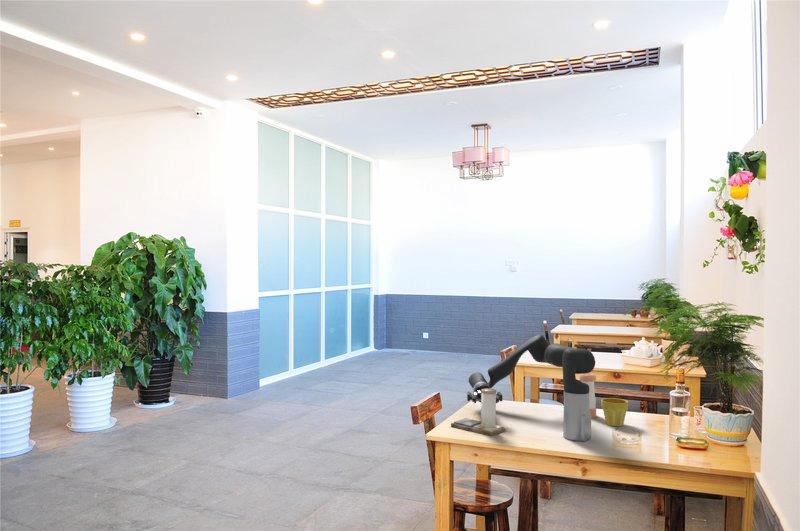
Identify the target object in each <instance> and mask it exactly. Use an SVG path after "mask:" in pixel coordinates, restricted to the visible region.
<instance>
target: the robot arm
mask: <svg viewBox="0 0 800 531" xmlns="http://www.w3.org/2000/svg"><path fill="white" fill-rule="evenodd" d="M526 352H528V353H529V354H530V355H531V357H532V359H533V360H534V361H535V362H537V363H543V364H549V365H552V366H554V367H558V368H562V382H563V383H562V384H563V423H562V424H563V426H562V427H563V430H562V431H563V433H562V434H563V438H565V439H567V440H571V441H581V442H585V441H587V440H589V439H591V438H592V418H591V412H589V385H588V384H586V383H583V382H581V380H578V379H577V376H576V374H577V375H580V374H586V373H591V372H593V370H594V369H595V368H596V359H595V356H594V354H593V353H592V351H590V350H589V349H586V348H574V347H571V346H569V345H565V344H561V343H557V342H556V343H552V344H549V342H548V341H547V340H546V338H545V337H544V335H543V334H536V335H535V336H532V337H530V338H529V339H528V340H526V342H524V343H523V344H521V345H520V346H519V347H518V348H516V349H515V350H514V351H513V352H511V353H510V354H509V355H508V356H506V357H505V358H504V359H502V360H501V361H499V362H497V363H496V364H495V365H493V366H492V367H491V366H490V368H488V370H487V374H488V378H489V381H487V380H486V377H484V374H482V373H481V372H479V371H477V372H476V371H475V372H473V373H472V374H471V375H470V376H469V377H468V383H469V385H470V386H471V388H472V390H473V391H472V392H473V393H472V392H470V391H467V392H466V393H467V394H466V398H467V402H470V401H471V402H472V403H474V404H476V403H477V402H478V403H481V396H482V393H481V389H493V387H494V386H495V385H496V384H497V383H499V382H500V381H502V380H504V379H505V378H507V377H508V376H510V375H511V374H512V373H513V372H514V370H515V368H516V367H517V364H518V363H519V360H520V359H521V357H522V356H523V355H524V354H525V353H526ZM477 390H479V391H477ZM500 402H503V394H502V392H500V391H498V392H497V391H496V404H499V403H500Z"/></svg>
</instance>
